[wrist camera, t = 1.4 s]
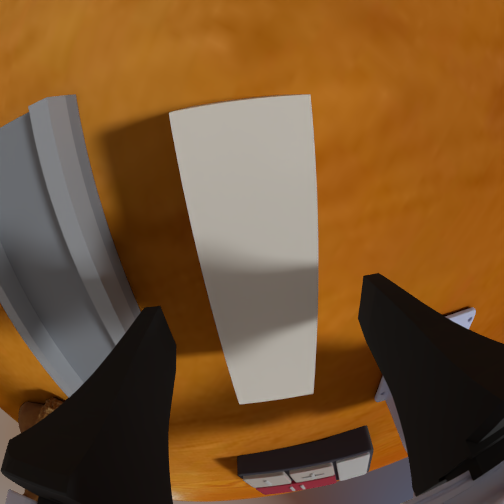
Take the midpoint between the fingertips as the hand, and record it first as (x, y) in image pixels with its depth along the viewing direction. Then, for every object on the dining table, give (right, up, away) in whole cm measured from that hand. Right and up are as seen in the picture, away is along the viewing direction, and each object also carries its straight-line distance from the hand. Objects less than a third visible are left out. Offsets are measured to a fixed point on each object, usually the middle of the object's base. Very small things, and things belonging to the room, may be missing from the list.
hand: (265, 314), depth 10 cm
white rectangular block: (0, +3, +5) cm, 5 cm away
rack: (-11, +1, +4) cm, 12 cm away
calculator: (+6, -23, +20) cm, 31 cm away
